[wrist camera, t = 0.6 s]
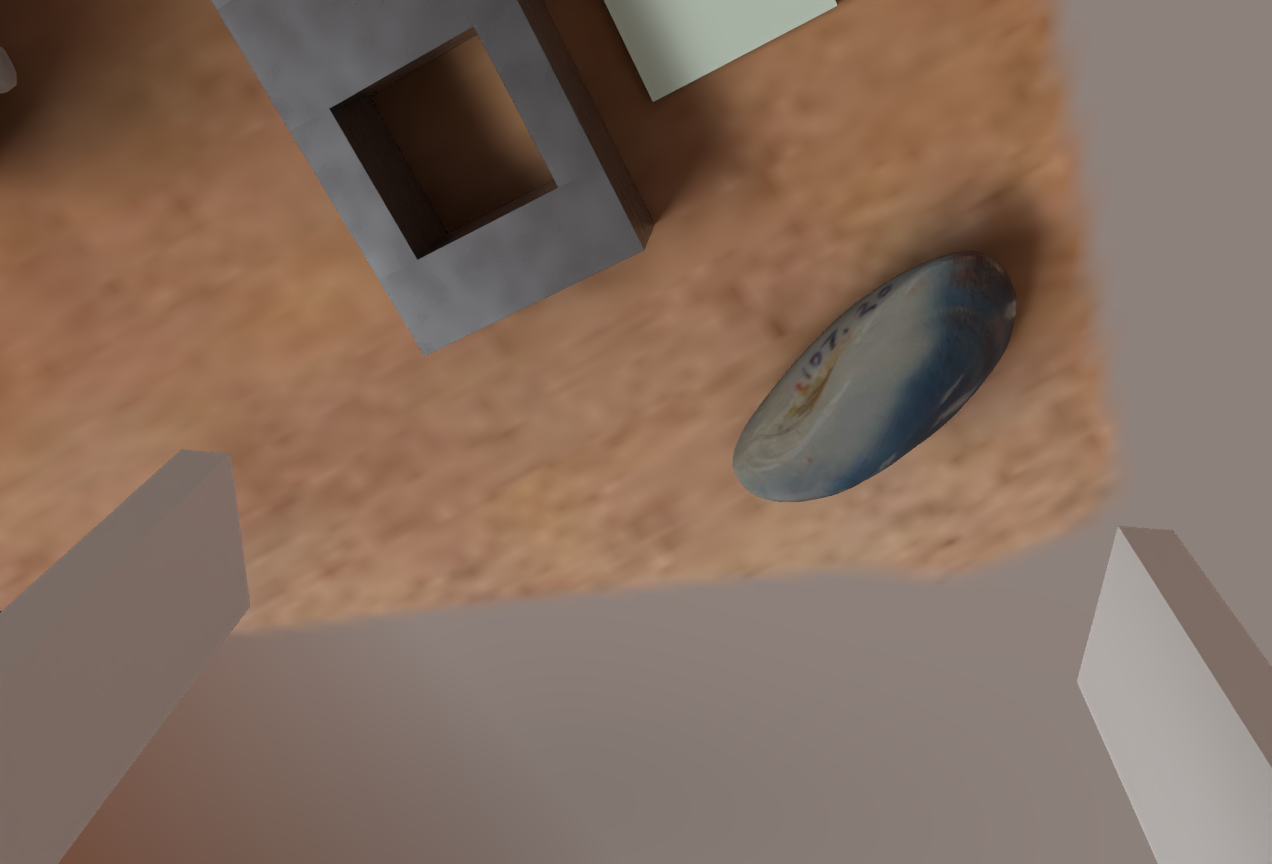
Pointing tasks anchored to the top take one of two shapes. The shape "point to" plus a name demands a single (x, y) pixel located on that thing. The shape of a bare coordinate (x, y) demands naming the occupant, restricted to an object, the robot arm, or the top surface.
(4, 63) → the mug
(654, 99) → the green pad
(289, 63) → the grey hollow block
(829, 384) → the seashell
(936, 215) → the top surface
